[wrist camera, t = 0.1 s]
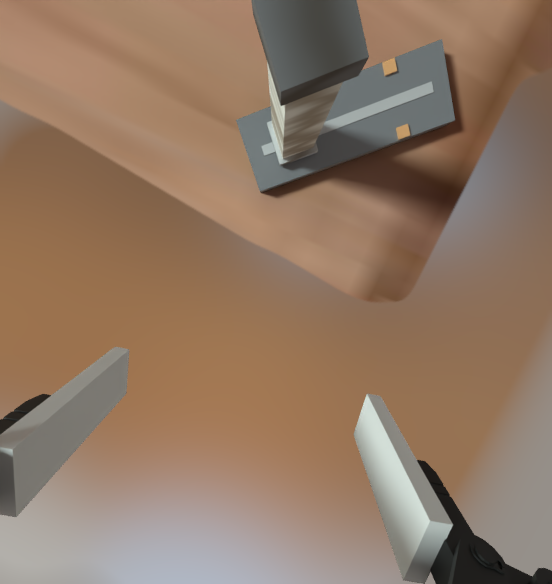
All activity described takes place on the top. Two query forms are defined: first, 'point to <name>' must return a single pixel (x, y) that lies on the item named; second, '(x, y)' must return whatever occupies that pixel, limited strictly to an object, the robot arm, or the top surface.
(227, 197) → the top surface
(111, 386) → the robot arm
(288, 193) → the top surface
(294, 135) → the lever
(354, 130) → the fader console
